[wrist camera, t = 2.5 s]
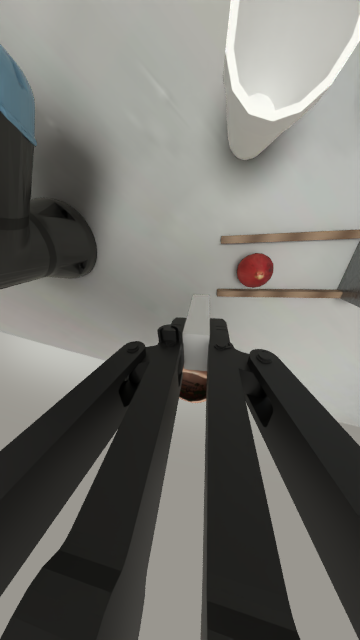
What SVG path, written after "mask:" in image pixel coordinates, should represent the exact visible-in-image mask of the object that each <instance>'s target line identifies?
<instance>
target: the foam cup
mask: <svg viewBox="0 0 360 640" xmlns="http://www.w3.org/2000/svg"><path fill="white" fill-rule="evenodd" d="M359 41H360V0H231V5H230V14H229V23H228V32H227V41H226V50H225V61H224V72H223V82H224V87H225V92H226V109H227V132H228V141H229V146H230V150H231V151H232V152H233V154H234V155H235V156H236V158H239V159H242V160H248V159H252V158H255V157H256V156H257V155H259V154H260V153H261V152H262V151H263V150H264V149H265V148H266V147H268V146H269V145H270V144H271V143H272V142H273V141H274V140H275V139H276V138H277V137H278V136H279V135H280V134H281V133H282V132H283V131H285V130H286V129H289V128H290V127H291V126H292V125H293V124H294V123H295V122H296V121H298V120H299V119H300V118H301V117H302V116H303V115H304V114H306V113H307V112H308V111H309V110H310V109H311V108H312V107H313V106H314V105H315V104H316V103H317V102H318V100H319V99H320V98H321V97H322V95H323V94H324V93H325V92H326V91H327V89H328V88H329V87H330V86H331V84H332V83H333V81H334V80H335V78H336V77H337V75H338V74H339V72H340V70H341V69H342V67H343V66H344V64H345V63H346V61H347V59H348V58H349V56H350V55H351V53H352V52H353V50H354V49H355V47H356V45H357V44H358V42H359Z"/></svg>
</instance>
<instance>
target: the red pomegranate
mask: <svg viewBox="0 0 360 640" xmlns="http://www.w3.org/2000/svg"><path fill="white" fill-rule="evenodd" d="M272 274H273V263H272V261H271V259H270V258H269V257H267V256H266V255H264V254H259V253H255V254H252V255H248V256H247V257H245V258H244V259H242V261H241V262H240V263H239V265H238V269H237V276H238V279H239V281H240V282H241V283H242V284H243V285H245V286H246V287H252V288H254V287H260V286H262V285H263V284H265V283H266V282H267V281H268V280H269V279H270V278H271V276H272Z"/></svg>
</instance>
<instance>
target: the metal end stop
mask: <svg viewBox="0 0 360 640" xmlns="http://www.w3.org/2000/svg"><path fill="white" fill-rule="evenodd" d="M337 290H339V291H342V292H343V293H342V295H341V297H340V298H341V299H343V300H345V301H347V302H349V303H351V304H353V305H356V306H358V307H360V242H359V244H358V246H357V248H356V251H355V253H354V255H353V257H352V259H351V261H350V263H349V266H348V268H347V270H346V272H345V274H344V276H343V278H342V281H341V283H340V285H339V287H338V289H337Z"/></svg>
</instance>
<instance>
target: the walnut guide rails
mask: <svg viewBox="0 0 360 640" xmlns="http://www.w3.org/2000/svg"><path fill="white" fill-rule="evenodd" d="M352 238H360V230H342V231H321V232H300V233H279V234H258V235H237V236H221V244H227V243H252V242H277V241H302V240H327V239H352ZM342 293H343V292H342V291H339V290H311V289H217V296H226V297H295V298H340V297H341V295H342Z"/></svg>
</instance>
